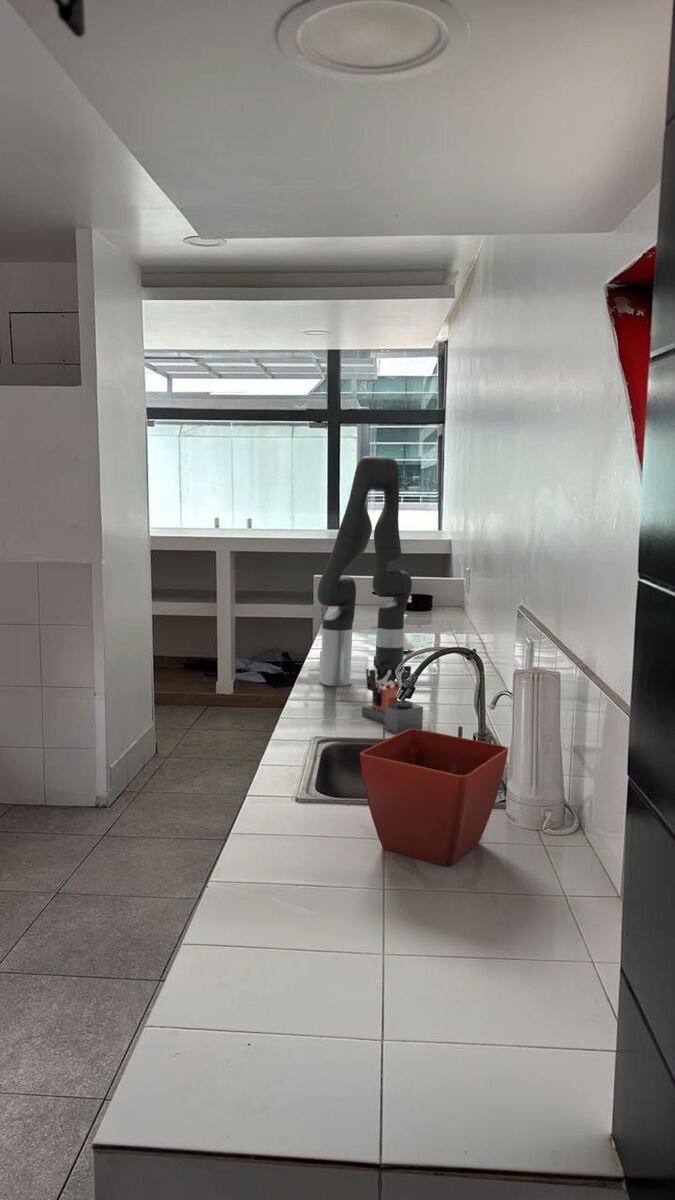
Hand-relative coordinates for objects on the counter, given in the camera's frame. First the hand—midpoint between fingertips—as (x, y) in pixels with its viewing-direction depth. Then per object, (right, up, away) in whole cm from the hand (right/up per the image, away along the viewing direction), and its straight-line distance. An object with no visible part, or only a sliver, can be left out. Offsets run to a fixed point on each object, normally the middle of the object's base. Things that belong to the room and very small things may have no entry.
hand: (387, 704), depth 239 cm
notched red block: (0, -1, 0) cm, 1 cm away
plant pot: (+2, -13, -92) cm, 93 cm away
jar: (0, 0, +14) cm, 14 cm away
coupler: (-1, -3, -14) cm, 15 cm away
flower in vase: (+9, +9, +89) cm, 90 cm away
